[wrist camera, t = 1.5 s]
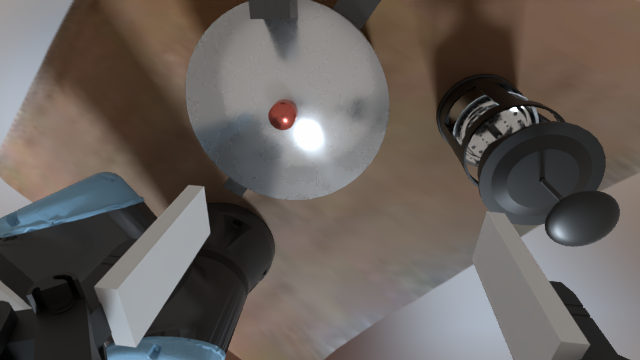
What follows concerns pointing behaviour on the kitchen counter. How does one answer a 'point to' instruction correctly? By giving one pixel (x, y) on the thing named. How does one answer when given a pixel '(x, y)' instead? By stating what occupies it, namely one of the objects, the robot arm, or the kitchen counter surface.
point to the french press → (530, 162)
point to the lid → (287, 98)
